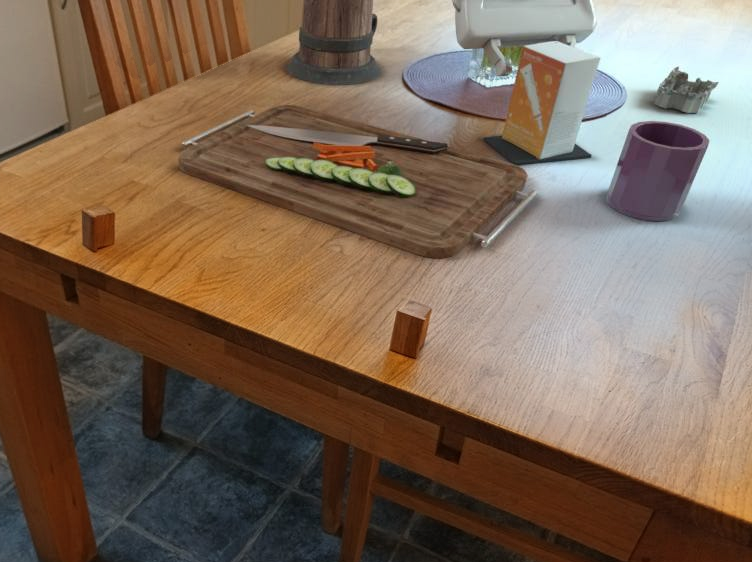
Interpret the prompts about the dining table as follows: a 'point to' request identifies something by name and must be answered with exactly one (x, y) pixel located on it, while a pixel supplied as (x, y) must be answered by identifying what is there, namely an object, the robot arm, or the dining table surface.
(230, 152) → the chopping board
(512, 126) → the small box
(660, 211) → the plum cup
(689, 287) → the dining table surface
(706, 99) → the egg carton
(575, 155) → the coaster pad
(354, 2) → the tankard
